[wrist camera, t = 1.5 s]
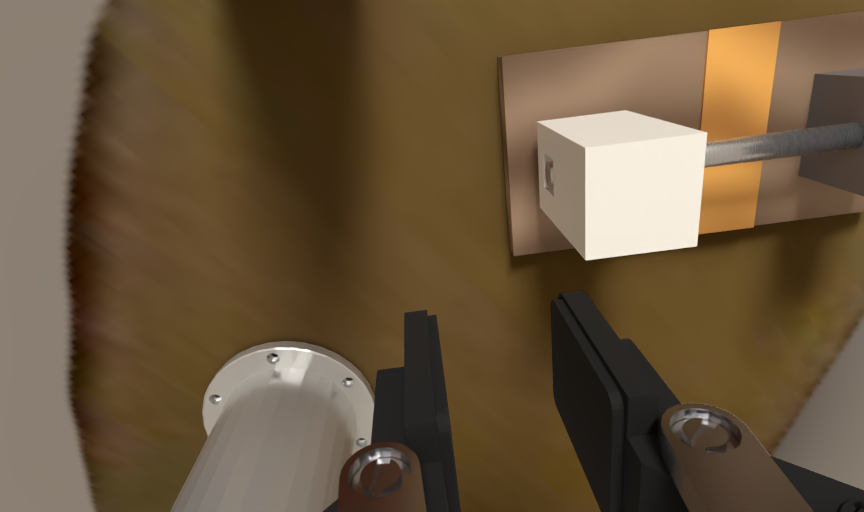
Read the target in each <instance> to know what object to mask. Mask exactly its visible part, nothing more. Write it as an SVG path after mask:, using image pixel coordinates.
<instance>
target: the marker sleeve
mask: <svg viewBox="0 0 864 512" xmlns="http://www.w3.org/2000/svg"><path fill="white" fill-rule="evenodd" d="M537 141H538V169H539V196H540V208H541V209H542V210H543V211H544V213H545V214H546V215H547V216H548V217H549V218H550V220H551V221H552V222H553V223H554V224H555V225H556V227H557V228H558V229H559V230H560V231H561V232H562V234H563V235H564V236H565V237H566V238H567V239H568V241H569V242H570V243H571V244H572V245H573V247H574V248H575V249H576V250H577V251H578V252H579V254H580V255H581V256H582V257H583V258H584V259H585V260H593V259H601V258H609V257H617V256H625V255H633V254H640V253H648V252H656V251H664V250H672V249H680V248H688V247H696V246H697V242H698V231H699V220H700V209H701V198H702V186H703V175H704V164H705V153H706V142H707V132H704V131H700V130H696V129H693V128H689V127H685V126H682V125H678V124H674V123H671V122H667V121H663V120H660V119H656V118H653V117H649V116H645V115H642V114H638V113H634V112H631V111H627V110H623V111H616V112H608V113H600V114H592V115H584V116H576V117H568V118H560V119H552V120H544V121H537ZM547 161H553V179H554V187H550V188H549V187H548V185H547V182H546V177H545V165H546V162H547Z"/></svg>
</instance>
